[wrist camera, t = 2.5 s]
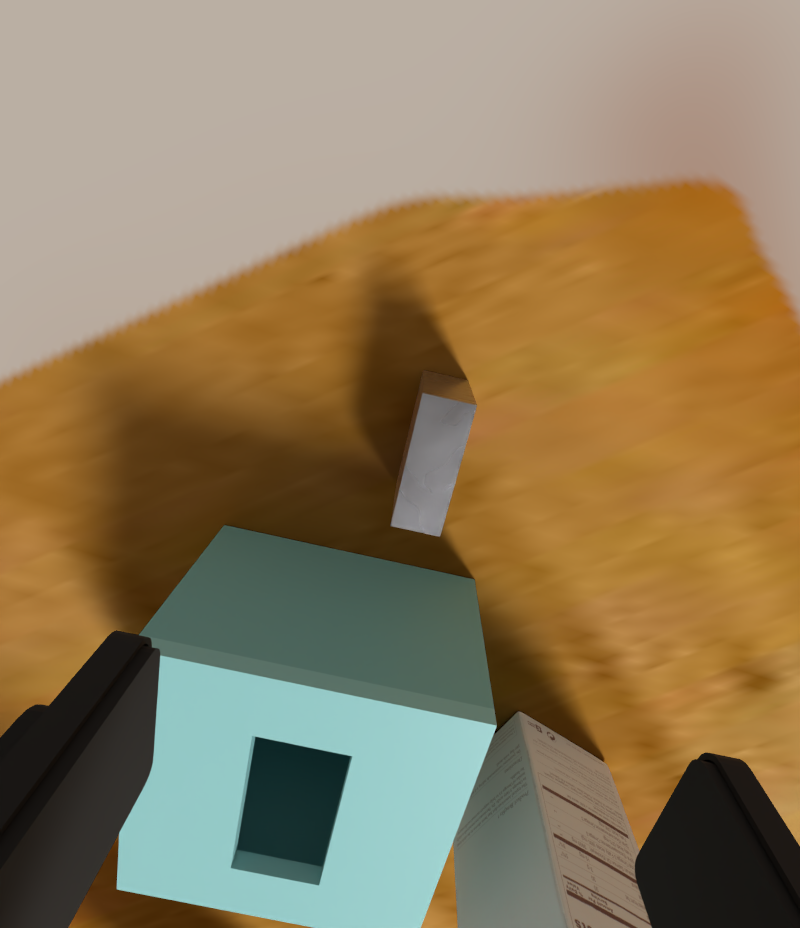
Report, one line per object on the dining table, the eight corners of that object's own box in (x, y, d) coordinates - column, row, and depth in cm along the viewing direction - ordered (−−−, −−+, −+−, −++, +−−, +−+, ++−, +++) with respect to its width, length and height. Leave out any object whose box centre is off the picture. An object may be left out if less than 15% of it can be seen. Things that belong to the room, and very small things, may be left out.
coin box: (474, 579, 30) (496, 725, 20) (416, 761, 34) (413, 947, 25) (224, 524, 29) (128, 648, 20) (202, 717, 34) (116, 889, 25)
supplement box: (534, 825, 36) (587, 1100, 24) (446, 775, 35) (456, 1038, 23) (611, 762, 34) (711, 1030, 22) (520, 705, 32) (573, 958, 21)
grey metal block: (467, 379, 26) (476, 405, 21) (437, 491, 28) (440, 536, 23) (423, 369, 26) (422, 392, 21) (396, 481, 28) (390, 526, 23)
